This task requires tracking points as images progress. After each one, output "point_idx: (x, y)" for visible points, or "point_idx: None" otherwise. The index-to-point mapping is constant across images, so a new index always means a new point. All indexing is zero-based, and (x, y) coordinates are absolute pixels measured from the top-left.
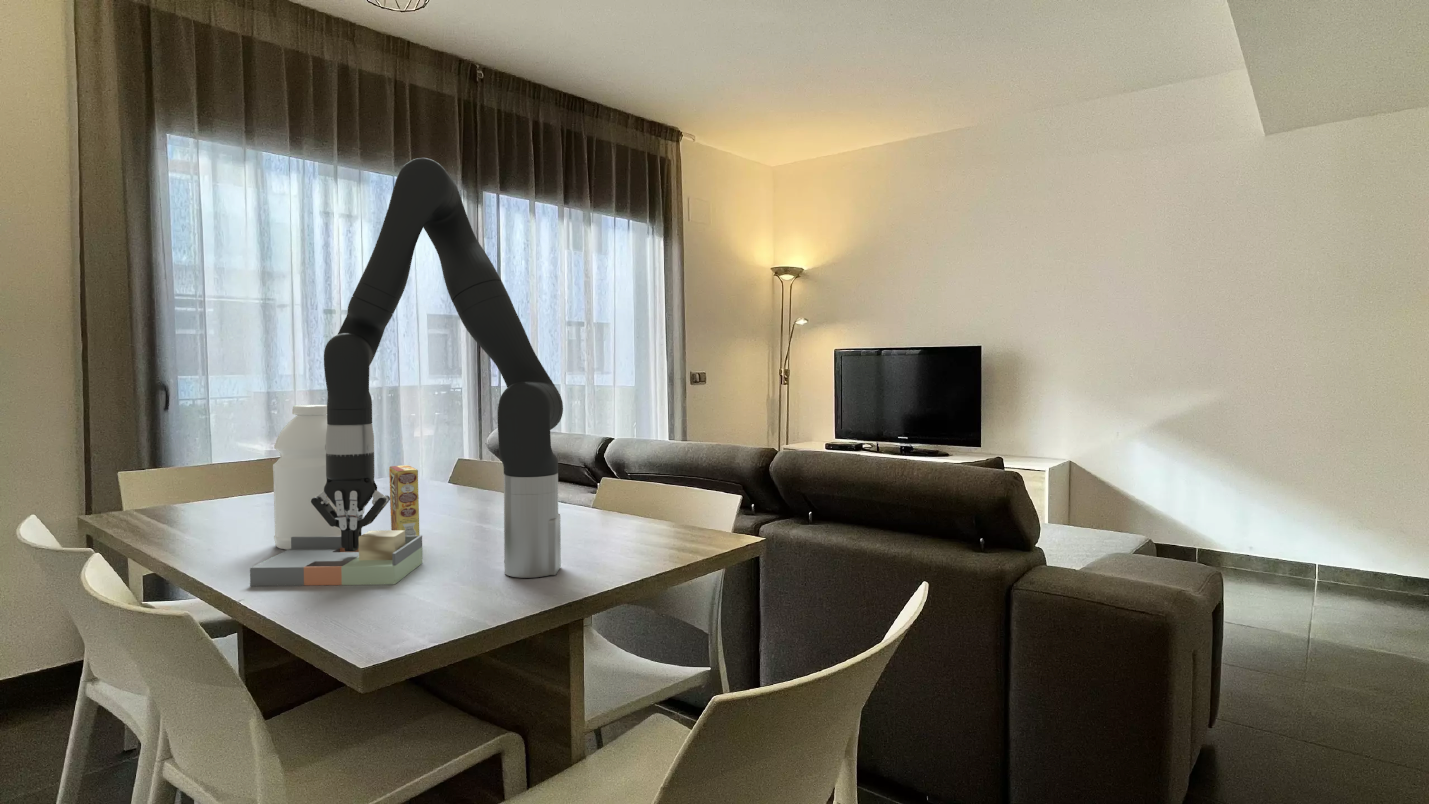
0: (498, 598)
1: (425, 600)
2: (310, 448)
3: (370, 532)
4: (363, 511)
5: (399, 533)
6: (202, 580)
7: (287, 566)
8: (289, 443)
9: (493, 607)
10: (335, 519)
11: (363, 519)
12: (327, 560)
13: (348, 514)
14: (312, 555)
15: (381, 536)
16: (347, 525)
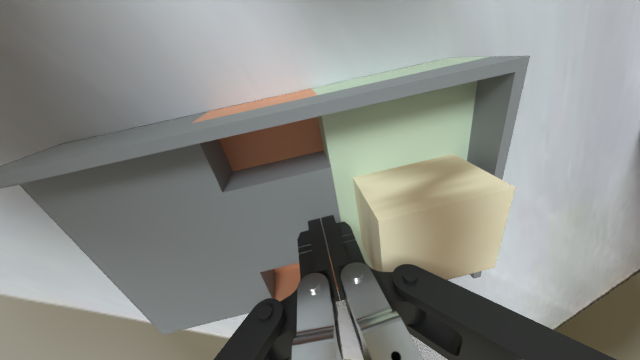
0: (595, 250)
1: (500, 277)
2: None
3: (394, 244)
4: (400, 325)
5: (501, 233)
6: (27, 297)
7: (235, 311)
8: None
9: (583, 276)
10: (290, 357)
11: (415, 331)
12: (285, 260)
13: (340, 357)
14: (200, 234)
15: (453, 276)
16: (337, 317)
